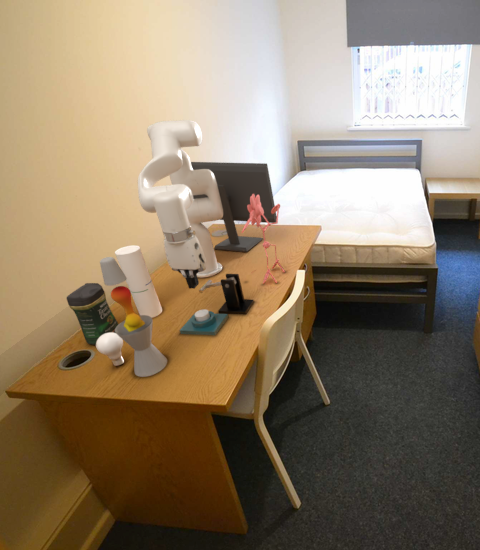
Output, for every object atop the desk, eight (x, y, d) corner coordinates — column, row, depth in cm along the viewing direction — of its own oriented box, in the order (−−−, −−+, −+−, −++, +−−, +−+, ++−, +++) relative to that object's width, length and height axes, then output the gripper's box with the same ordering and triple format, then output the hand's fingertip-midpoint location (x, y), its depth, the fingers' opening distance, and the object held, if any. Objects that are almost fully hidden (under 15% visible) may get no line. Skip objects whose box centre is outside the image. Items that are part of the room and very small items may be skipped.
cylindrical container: (166, 309, 133) (144, 246, 121) (150, 320, 127) (126, 255, 115) (151, 305, 135) (128, 244, 123) (135, 316, 129) (109, 253, 117)
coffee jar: (107, 346, 115) (83, 296, 106) (83, 346, 115) (57, 297, 106) (125, 327, 123) (105, 280, 114) (103, 327, 124) (80, 280, 115)
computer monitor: (286, 241, 184) (274, 160, 165) (272, 254, 170) (257, 168, 151) (210, 235, 193) (190, 158, 174) (191, 248, 180) (167, 165, 160)
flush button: (193, 321, 120) (191, 316, 119) (200, 314, 124) (198, 309, 123) (206, 322, 120) (204, 317, 119) (212, 314, 123) (211, 309, 122)
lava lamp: (128, 367, 106) (80, 260, 89) (160, 351, 112) (120, 248, 95) (140, 382, 101) (90, 271, 84) (173, 364, 107) (133, 257, 90)
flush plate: (180, 334, 119) (177, 325, 118) (196, 316, 128) (193, 308, 126) (215, 335, 118) (212, 326, 117) (228, 317, 127) (226, 309, 125)
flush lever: (200, 294, 126) (197, 288, 125) (210, 284, 133) (207, 278, 131) (231, 289, 124) (228, 283, 123) (239, 279, 130) (236, 273, 129)
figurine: (293, 263, 162) (282, 185, 145) (271, 293, 140) (255, 206, 123) (260, 261, 164) (245, 184, 147) (234, 291, 142) (213, 205, 125)
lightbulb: (114, 357, 110) (100, 328, 105) (135, 356, 110) (122, 327, 105) (102, 372, 105) (87, 342, 99) (125, 371, 105) (111, 341, 100)
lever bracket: (218, 313, 129) (210, 282, 123) (228, 301, 136) (221, 271, 130) (245, 314, 128) (238, 283, 122) (254, 302, 135) (247, 272, 129)
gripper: (208, 229, 111) (221, 281, 120) (161, 228, 112) (178, 279, 121) (195, 239, 104) (210, 293, 113) (146, 238, 106) (165, 291, 115)
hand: (194, 286), depth 117 cm, fingers closed
